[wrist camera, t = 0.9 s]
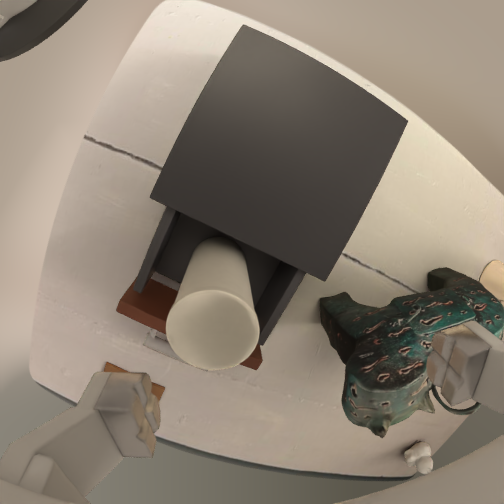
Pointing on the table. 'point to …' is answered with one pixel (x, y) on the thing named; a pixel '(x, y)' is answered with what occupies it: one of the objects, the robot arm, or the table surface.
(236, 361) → the container
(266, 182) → the cabinet
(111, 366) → the coaster
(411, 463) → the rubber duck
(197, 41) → the table surface
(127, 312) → the drawer
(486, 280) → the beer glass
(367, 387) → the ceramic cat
